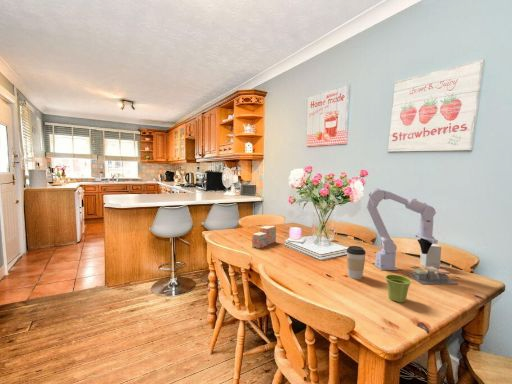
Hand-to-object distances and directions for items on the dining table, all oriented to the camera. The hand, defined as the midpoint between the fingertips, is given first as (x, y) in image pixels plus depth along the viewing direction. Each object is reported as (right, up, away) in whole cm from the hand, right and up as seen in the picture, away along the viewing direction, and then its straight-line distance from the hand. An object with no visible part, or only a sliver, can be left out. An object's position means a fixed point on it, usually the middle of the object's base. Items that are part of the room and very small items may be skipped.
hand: (424, 253), depth 134 cm
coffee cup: (-39, -10, -6) cm, 41 cm away
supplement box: (+9, -10, +9) cm, 16 cm away
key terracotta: (+3, -10, -8) cm, 13 cm away
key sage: (-8, -10, -8) cm, 15 cm away
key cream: (-2, -9, -8) cm, 12 cm away
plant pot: (-30, -12, -29) cm, 44 cm away
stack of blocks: (-83, -6, +49) cm, 96 cm away
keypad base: (-2, -11, -8) cm, 14 cm away
